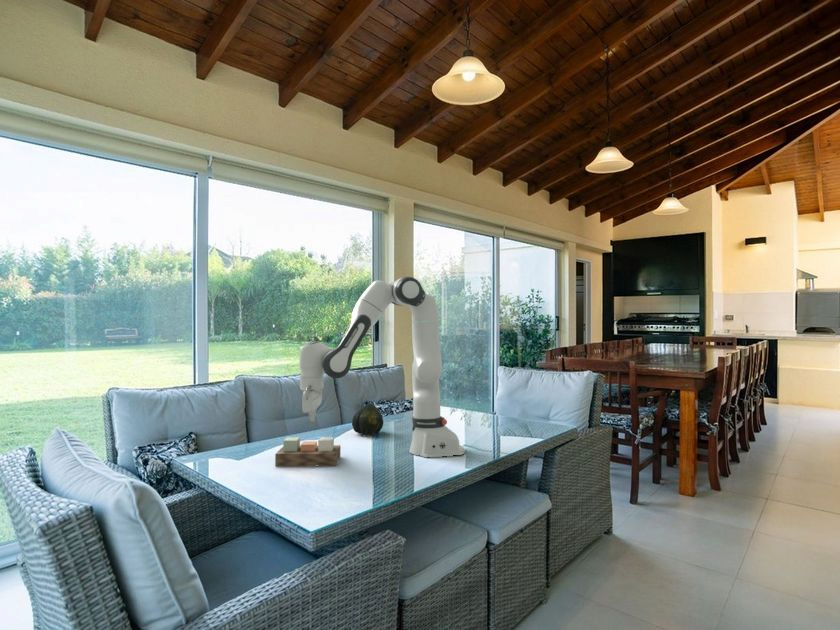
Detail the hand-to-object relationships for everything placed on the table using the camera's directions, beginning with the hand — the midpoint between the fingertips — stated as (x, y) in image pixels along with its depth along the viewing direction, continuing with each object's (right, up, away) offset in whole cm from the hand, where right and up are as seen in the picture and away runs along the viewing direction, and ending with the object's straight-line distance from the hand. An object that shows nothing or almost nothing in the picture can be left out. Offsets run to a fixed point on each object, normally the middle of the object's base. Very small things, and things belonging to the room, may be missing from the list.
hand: (312, 420), depth 188 cm
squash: (+16, -16, +43) cm, 49 cm away
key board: (-1, -15, -2) cm, 15 cm away
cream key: (+5, -12, -2) cm, 13 cm away
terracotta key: (-1, -13, -2) cm, 13 cm away
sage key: (-8, -12, -2) cm, 14 cm away
